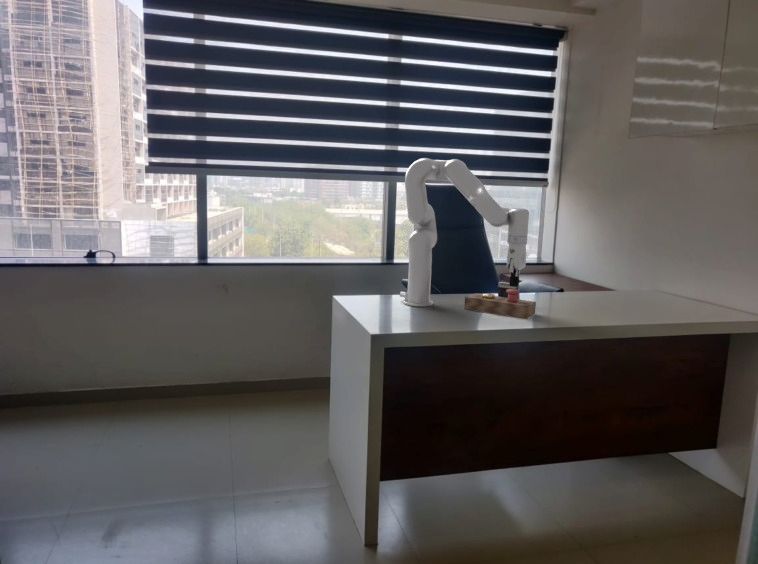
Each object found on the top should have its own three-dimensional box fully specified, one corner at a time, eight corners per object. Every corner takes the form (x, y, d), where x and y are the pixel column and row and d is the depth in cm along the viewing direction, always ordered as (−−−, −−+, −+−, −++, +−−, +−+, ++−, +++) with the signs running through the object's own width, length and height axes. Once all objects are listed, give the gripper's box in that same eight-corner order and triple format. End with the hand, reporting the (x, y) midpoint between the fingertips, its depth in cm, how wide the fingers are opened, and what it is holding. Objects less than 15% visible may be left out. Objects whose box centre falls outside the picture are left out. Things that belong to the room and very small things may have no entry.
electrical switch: (519, 304, 243) (520, 283, 241) (515, 307, 239) (516, 286, 237) (499, 301, 248) (500, 280, 246) (495, 303, 244) (495, 283, 242)
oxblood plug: (503, 305, 222) (504, 290, 221) (507, 303, 226) (509, 288, 225) (515, 307, 219) (517, 292, 218) (519, 305, 223) (521, 290, 222)
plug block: (464, 308, 228) (464, 296, 227) (474, 304, 237) (475, 293, 236) (526, 318, 214) (527, 306, 213) (534, 314, 223) (536, 301, 223)
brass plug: (479, 309, 227) (480, 294, 226) (484, 307, 232) (485, 292, 231) (491, 311, 225) (492, 296, 224) (495, 309, 229) (496, 294, 228)
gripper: (520, 242, 210) (517, 289, 213) (532, 239, 222) (529, 284, 225) (501, 240, 214) (498, 287, 217) (514, 238, 226) (511, 282, 229)
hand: (513, 286), depth 221 cm, fingers closed
